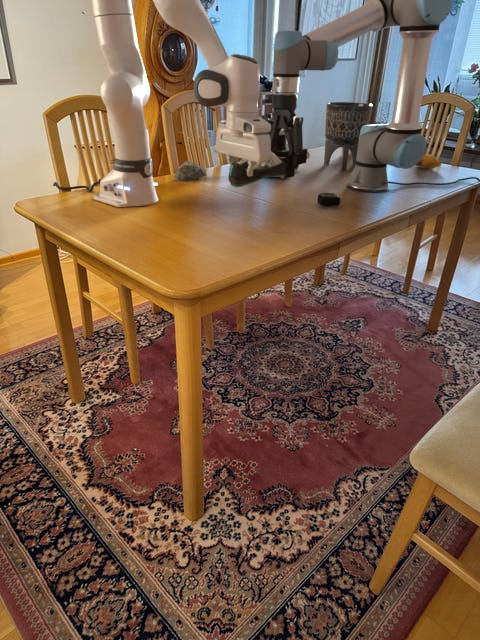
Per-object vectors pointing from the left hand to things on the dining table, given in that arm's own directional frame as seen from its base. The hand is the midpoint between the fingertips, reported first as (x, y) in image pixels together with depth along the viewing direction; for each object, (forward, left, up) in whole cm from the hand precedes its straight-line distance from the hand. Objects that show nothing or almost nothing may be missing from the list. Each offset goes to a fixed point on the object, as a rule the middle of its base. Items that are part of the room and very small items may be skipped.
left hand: (240, 173), depth 133 cm
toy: (+37, +115, -14) cm, 122 cm away
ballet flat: (+4, +7, -3) cm, 9 cm away
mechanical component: (-15, +66, -14) cm, 69 cm away
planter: (+3, +94, -14) cm, 95 cm away
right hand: (+6, +15, -2) cm, 17 cm away
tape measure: (+19, +28, -14) cm, 37 cm away
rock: (-41, +36, -14) cm, 57 cm away
